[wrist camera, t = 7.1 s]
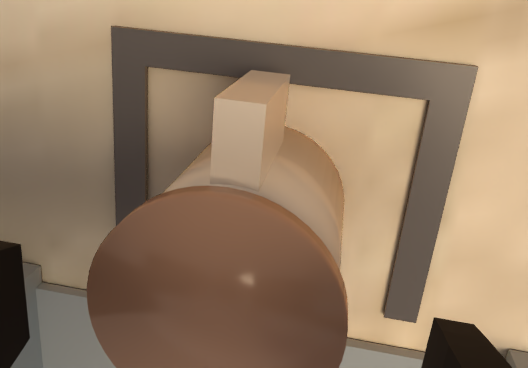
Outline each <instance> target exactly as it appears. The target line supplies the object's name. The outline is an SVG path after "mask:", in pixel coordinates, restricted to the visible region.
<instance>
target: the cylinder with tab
mask: <svg viewBox="0 0 528 368" xmlns="http://www.w3.org/2000/svg"><path fill="white" fill-rule="evenodd" d="M289 82H290V74H281V73H273V72H264V71H256V70H251V71H249V72H248V73H247V74H245V75H244V76H243V77H241V78H240V79H239V80H237V81H236V82H235V83H233V84H232V85H231V86H229V87H228V88H227V89H225V90H224V91H223V92H221V93H220V94H219V95H217V96H216V97H214V110H213V129H212V143H211V144H209V145H208V146H207V147H206V148H205V150H204V151H203V152H202V153H201V154H200V155H199V156H198V157H197V158H196V159H195V160H194V161H193V162H192V163H191V164H190V165H189V166H188V167H187V168H186V169H185V170H184V171H183V172H182V173H181V174H180V176H179V177H178V178H177V179H176V180H175V181H174V182H173V183H172V184H171V185H170V186H169V187H168V188H167V189H166V190H165V191H164V192H163V193H162V194H159V195H157V196H155V197H153V198H151V199H149V200H147V201H145V202H144V203H142V204H141V205H139V206H138V207H137V208H135V209H134V210H133V211H132V212H131V213H130V214H128V215H127V216H126V217H125V218H124V219H123V220H122V221H121V222H120V223H119V224H118V225H117V226H116V227H115V228H114V229H113V230H112V231H111V232H110V233H109V234H108V236H107V237H106V238H105V239H104V241H103V242H102V243H101V245H100V247H99V249H98V250H97V252H96V254H95V256H94V259H93V261H92V264H91V267H90V270H89V276H88V282H87V304H88V312H89V316H90V320H91V323H92V327H93V329H94V332H95V334H96V337H97V339H98V341H99V343H100V345H101V346H102V348H103V350H104V352H105V353H106V355H107V356H108V358H109V359H110V360H111V362H112V363H113V365H114V366H115V367H116V368H339V366H340V364H341V362H342V359H343V355H344V352H345V348H346V341H347V332H348V303H347V294H346V289H345V285H344V281H343V278H342V275H341V273H340V264H341V247H342V230H343V213H344V191H343V186H342V182H341V179H340V176H339V173H338V171H337V169H336V167H335V165H334V163H333V162H332V160H331V159H330V157H329V156H328V155H327V153H326V152H325V151H324V150H323V149H322V148H321V147H320V146H319V145H318V144H317V143H315V142H314V141H313V140H312V139H310V138H309V137H307V136H305V135H304V134H302V133H300V132H298V131H296V130H294V129H291V128H288V127H285V119H286V110H287V101H288V92H289Z"/></svg>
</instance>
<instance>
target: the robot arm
mask: <svg viewBox="0 0 528 368" xmlns="http://www.w3.org/2000/svg"><path fill="white" fill-rule="evenodd" d="M29 339H30V332H29V322H28V312H27V303H26V293H25V283H24V273H23V263H22V253H21V244H16V243H10V242H4V241H0V368H11V366H12V365H13V363H14V362H15V360H16V359H17V357H18V356H19V354H20V353H21V351H22V350H23V348H24V347H25V345H26V344H27V342H28V341H29ZM421 368H512V367H511V366H510V364H509V363H508V362H507V361H506V360H505V359H504V358H503V356H502V355H501V354H500V353H499V352H498V351H497V349H496V348H495V347H494V346H493V345H492V344H491V343H490V341H489V340H488V339H487V338H486V337H485V336H484V335H483V334H482V333H481V331H480V330H479V329H478V328H477V327H476V326H475V325H474V324H468V323H463V322H457V321H451V320H446V319H440V318H434V320H433V324H432V328H431V332H430V336H429V339H428V343H427V347H426V351H425V355H424V359H423V363H422V367H421Z"/></svg>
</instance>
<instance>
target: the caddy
mask: <svg viewBox="0 0 528 368" xmlns="http://www.w3.org/2000/svg"><path fill="white" fill-rule="evenodd" d="M22 263H23V262H22ZM23 273H24V283H25V293H26V303H27V312H28V322H29V332H30V339H29V341H28V342H27V344H26V345H25V347H24V348H23V350H22V351H21V353H20V354H19V356H18V357H17V359H16V360H15V362H14V363H13V365H12V366H11V368H116V367H115V366H114V365H113V363H112V362H111V360H110V359H109V358H108V356H107V355H106V353H105V352H104V350H103V348H102V346H101V345H100V343H99V341H98V339H97V337H96V334H95V332H94V329H93V327H92V323H91V320H90V316H89V312H88V304H87V290H81V289H76V288H70V287H65V286H59V285H54V284H49V283H43V282H42V276H41V266H40V265H34V264H29V263H23ZM424 355H425V352H420V351H415V350H409V349H404V348H398V347H393V346H387V345H382V344H376V343H371V342H365V341H360V340H354V339H349V338H347V341H346V348H345V352H344V355H343V359H342V362H341V364H340V366H339V368H421V367H422V363H423V359H424ZM505 360H506V361H507V362H508V363H509V364H510V366H511V367H512V368H528V353H527V352H522V351H516V350H511V349H509V350H508V353H507V356H506V359H505Z"/></svg>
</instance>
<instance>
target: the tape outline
mask: <svg viewBox="0 0 528 368" xmlns="http://www.w3.org/2000/svg"><path fill="white" fill-rule="evenodd" d="M111 37H112V78H113V119H114V160H115V201H116V226H117V225H118V224H119V223H120V222H121V221H122V220H123V219H124V218H125V217H126V216H127V215H128V214H130V213H131V212H132V211H133V210H134V209H135V208H137V207H138V206H139V205H141V204H142V203H144V202H145V201H147V154H148V67H155V68H163V69H172V70H180V71H188V72H197V73H205V74H213V75H222V76H230V77H238V78H241V77H243V76H244V75H245V74H247V73H248V72H249V71H251V70H256V71H264V72H273V73H281V74H290V82H289V84H297V85H305V86H313V87H322V88H330V89H338V90H347V91H355V92H363V93H372V94H380V95H388V96H397V97H405V98H413V99H422V100H429V102H428V107H427V112H426V116H425V121H424V126H423V131H422V135H421V140H420V145H419V149H418V154H417V159H416V163H415V168H414V173H413V177H412V182H411V187H410V192H409V196H408V201H407V206H406V210H405V215H404V220H403V224H402V229H401V234H400V238H399V243H398V248H397V253H396V257H395V262H394V267H393V271H392V276H391V281H390V285H389V290H388V295H387V299H386V304H385V309H384V317H385V318H390V319H396V320H402V321H407V322H413V323H416V320H417V316H418V312H419V308H420V304H421V300H422V296H423V291H424V287H425V283H426V279H427V275H428V271H429V267H430V263H431V259H432V255H433V251H434V246H435V242H436V238H437V234H438V230H439V226H440V222H441V218H442V214H443V210H444V205H445V201H446V197H447V193H448V189H449V185H450V181H451V177H452V173H453V169H454V164H455V160H456V156H457V152H458V148H459V144H460V140H461V136H462V132H463V128H464V124H465V119H466V115H467V111H468V107H469V103H470V99H471V95H472V91H473V87H474V83H475V78H476V74H477V70H478V66H474V65H465V64H456V63H447V62H437V61H428V60H419V59H410V58H401V57H392V56H383V55H374V54H365V53H356V52H347V51H338V50H328V49H319V48H310V47H301V46H292V45H283V44H274V43H265V42H256V41H247V40H238V39H228V38H219V37H210V36H201V35H192V34H183V33H174V32H165V31H156V30H147V29H138V28H129V27H119V26H111Z"/></svg>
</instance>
